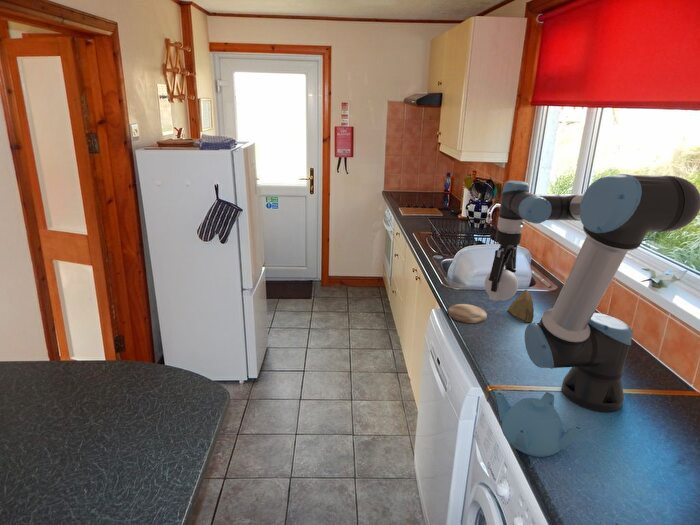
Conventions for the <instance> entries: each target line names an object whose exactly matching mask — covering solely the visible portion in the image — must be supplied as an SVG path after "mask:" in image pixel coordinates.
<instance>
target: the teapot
mask: <svg viewBox="0 0 700 525" xmlns="http://www.w3.org/2000/svg"><path fill="white" fill-rule="evenodd" d="M495 398H496V403H497V409H498V415H499V420H500V421H501V432H502V435H503V436H504V437H505V440H507V442H508V443H509V444H510V445H511V446H512V447H513V448H514V449H516V450H517V451H519V452H521V453H523V454H526V455H528V456H531V457H535V458H546V457H550V456H553V455H556V454H557V453H558V452H560V451H564V450H565V449H566V448H567V446H569V445H570V443H571V442H572V441H573V440H574V439H575V438H576V437H577V436H579V434H581V432H582V430H583V427H582V426H579V425H577V424H574V425H573V426H572V427H570V428H569V429H567V430H566V431H565V429H564V424H563V423H562V420H561V418H560V416H559V414H558V412H557V411H556V409H555V407H554V404H555V395H554V394H553V393H550V392H548V391H546V392H545V393H544V394H543V395H542V397H541V398H540V399H539V398H536V397H525V398H522V399H520V400H518V401H517V402H516V403H514V404H513V405H512V406H510V404H509V402H508V400H507V399H506V396H505V394H504V393H502V392H501V391H497V392H495Z"/></svg>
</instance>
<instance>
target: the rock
mask: <svg viewBox="0 0 700 525" xmlns="http://www.w3.org/2000/svg"><path fill="white" fill-rule="evenodd" d="M507 311H508V312H509V313H510V314H511V315H512V316H514V317H516V318H518V319H519V320H522V321H524V322H526V323H533V321H534V316H535V315H534V311H535V309H534V301H533V298H532V294H531V292H530V290H527V289H524V290H523V291H522V292H520V294H519V295H518V296H517V297H516V298H515V300H513V301H512V302H511V304H510V305H509V307H508V309H507Z"/></svg>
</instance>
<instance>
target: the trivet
mask: <svg viewBox="0 0 700 525" xmlns="http://www.w3.org/2000/svg"><path fill="white" fill-rule="evenodd" d="M447 313H448V316H450V318H452V319H454V320H456V321H458V322H460V323H467V324H479V323H483V322H485V321H486V319H487V316H488V314H487V311H485V310H484V309H483V308H481V307H479V306H477V305H473V304H468V303H458V304H457V303H456V304H453V305H451V306H449V307H448V312H447Z"/></svg>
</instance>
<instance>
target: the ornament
mask: <svg viewBox="0 0 700 525" xmlns="http://www.w3.org/2000/svg"><path fill="white" fill-rule="evenodd" d="M490 273H491V271H490V272H489V273H488V274H487V275H486V277H485V280H484V290H485V291H486V294H487V295H488V296H489V295H490V288H491V281H489V277H490ZM500 282H501V283H500V290H499V296H498V301H506V300H507V301H508V300H509V299H512V298H513V297H514V296H515V295H516V294H517V291H518V288H519V281H518V278H517V276H516V275H515V273H514V272H511V271H509V270H506V269H505V268H504V269H503V272H502V275H501V278H500Z"/></svg>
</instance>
